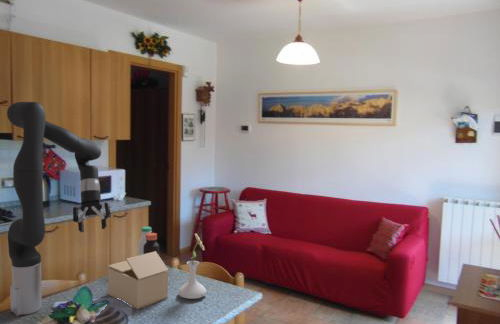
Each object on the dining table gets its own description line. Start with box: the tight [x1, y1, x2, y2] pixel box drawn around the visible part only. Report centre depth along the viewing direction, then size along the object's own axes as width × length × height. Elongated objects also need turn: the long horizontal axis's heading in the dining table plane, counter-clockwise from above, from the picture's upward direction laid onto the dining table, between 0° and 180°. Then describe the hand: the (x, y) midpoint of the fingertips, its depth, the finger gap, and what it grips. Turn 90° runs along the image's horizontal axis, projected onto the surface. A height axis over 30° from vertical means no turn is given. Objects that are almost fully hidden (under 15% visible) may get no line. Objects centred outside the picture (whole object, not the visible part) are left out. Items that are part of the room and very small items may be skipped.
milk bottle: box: [137, 226, 152, 256], centre depth 192 cm, size 8×8×20 cm
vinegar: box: [144, 232, 160, 256], centre depth 180 cm, size 7×7×20 cm
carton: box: [107, 267, 169, 311], centre depth 160 cm, size 14×20×11 cm
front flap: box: [125, 251, 169, 280], centre depth 155 cm, size 14×10×1 cm
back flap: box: [107, 260, 132, 273], centre depth 163 cm, size 14×10×1 cm
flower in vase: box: [177, 233, 207, 300], centre depth 162 cm, size 13×11×25 cm
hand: (92, 230), depth 161 cm, fingers open, 8 cm apart
